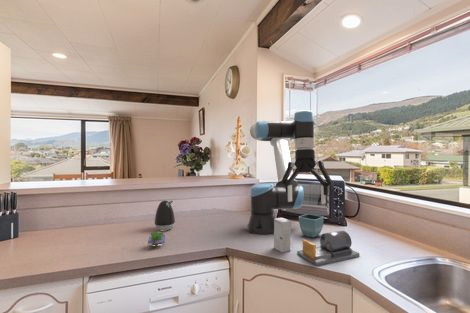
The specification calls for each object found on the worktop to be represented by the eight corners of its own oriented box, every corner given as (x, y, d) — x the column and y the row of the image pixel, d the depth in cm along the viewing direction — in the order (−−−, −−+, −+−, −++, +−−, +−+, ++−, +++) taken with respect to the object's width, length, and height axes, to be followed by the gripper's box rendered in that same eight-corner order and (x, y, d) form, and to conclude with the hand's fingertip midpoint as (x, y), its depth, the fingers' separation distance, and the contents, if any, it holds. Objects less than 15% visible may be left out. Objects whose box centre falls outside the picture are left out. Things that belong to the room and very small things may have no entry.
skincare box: (273, 247, 101) (273, 218, 101) (282, 245, 103) (282, 217, 103) (282, 252, 96) (281, 222, 96) (291, 250, 98) (291, 220, 98)
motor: (297, 254, 95) (297, 232, 94) (337, 246, 102) (337, 226, 102) (316, 265, 84) (316, 242, 84) (359, 256, 92) (359, 234, 92)
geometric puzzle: (163, 246, 99) (164, 226, 103) (145, 247, 97) (147, 227, 102) (165, 251, 104) (166, 232, 109) (148, 252, 103) (150, 233, 108)
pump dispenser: (179, 228, 129) (179, 199, 129) (164, 234, 121) (163, 203, 121) (166, 225, 135) (165, 198, 135) (150, 230, 126) (150, 201, 126)
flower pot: (307, 231, 122) (307, 213, 122) (324, 235, 116) (324, 216, 116) (298, 235, 116) (298, 216, 116) (315, 240, 110) (315, 220, 110)
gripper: (272, 150, 103) (273, 201, 102) (334, 146, 88) (336, 206, 87) (280, 151, 109) (281, 199, 108) (339, 148, 94) (341, 203, 93)
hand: (306, 202), depth 98 cm, fingers open, 13 cm apart
